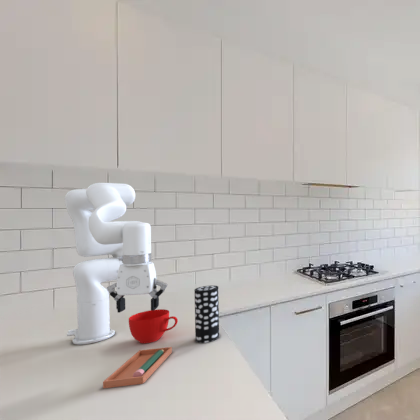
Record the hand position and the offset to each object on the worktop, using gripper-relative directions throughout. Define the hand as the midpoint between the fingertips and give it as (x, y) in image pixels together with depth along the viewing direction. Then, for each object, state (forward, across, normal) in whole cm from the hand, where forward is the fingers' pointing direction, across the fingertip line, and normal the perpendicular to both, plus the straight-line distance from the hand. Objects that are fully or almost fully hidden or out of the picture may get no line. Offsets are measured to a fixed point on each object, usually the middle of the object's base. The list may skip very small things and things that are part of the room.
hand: (138, 310), depth 103 cm
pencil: (+15, +5, -5) cm, 17 cm away
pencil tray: (+18, +3, -5) cm, 19 cm away
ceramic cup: (+18, -3, +19) cm, 27 cm away
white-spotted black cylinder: (+18, +17, +15) cm, 29 cm away
